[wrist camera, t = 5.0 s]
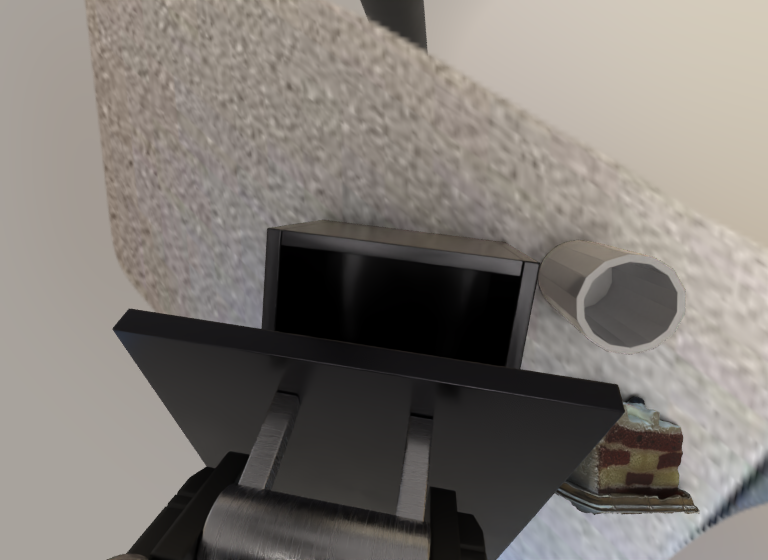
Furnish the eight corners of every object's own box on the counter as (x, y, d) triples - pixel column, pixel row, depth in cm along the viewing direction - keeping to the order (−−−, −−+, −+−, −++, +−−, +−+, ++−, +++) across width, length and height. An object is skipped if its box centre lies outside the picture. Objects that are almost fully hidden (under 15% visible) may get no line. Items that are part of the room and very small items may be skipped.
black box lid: (128, 307, 12) (-41, 507, 8) (618, 383, 10) (697, 672, 7) (250, 507, 24) (206, 625, 20) (485, 555, 23) (485, 692, 19)
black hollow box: (322, 219, 31) (266, 227, 21) (506, 242, 29) (541, 262, 19) (306, 419, 34) (251, 509, 24) (470, 448, 33) (484, 557, 23)
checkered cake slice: (717, 412, 30) (671, 414, 22) (705, 511, 29) (654, 548, 22) (584, 380, 37) (514, 373, 29) (573, 459, 37) (498, 473, 29)
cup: (544, 235, 29) (587, 248, 21) (623, 245, 28) (699, 262, 20) (531, 306, 30) (566, 345, 22) (606, 316, 29) (672, 361, 21)
